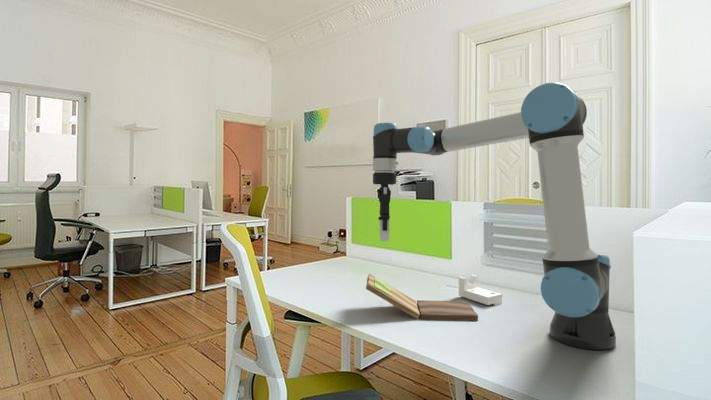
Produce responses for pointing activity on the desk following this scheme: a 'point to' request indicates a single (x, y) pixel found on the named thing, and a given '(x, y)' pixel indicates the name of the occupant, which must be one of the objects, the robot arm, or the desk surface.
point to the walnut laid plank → (446, 310)
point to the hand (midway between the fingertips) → (384, 237)
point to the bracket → (478, 292)
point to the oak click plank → (392, 296)
